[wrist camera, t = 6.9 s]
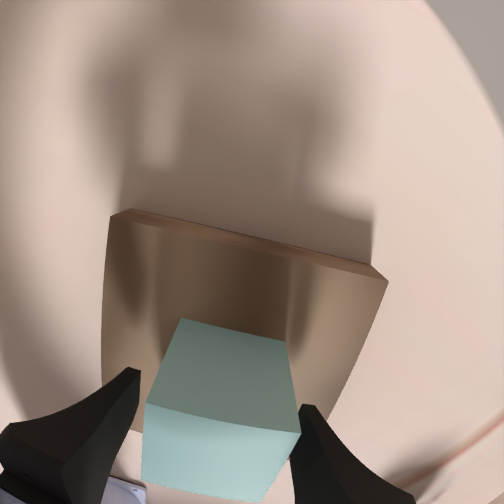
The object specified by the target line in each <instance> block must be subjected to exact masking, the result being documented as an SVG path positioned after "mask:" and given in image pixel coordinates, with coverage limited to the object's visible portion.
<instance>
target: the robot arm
mask: <svg viewBox="0 0 504 504" xmlns="http://www.w3.org/2000/svg"><path fill="white" fill-rule="evenodd" d="M140 381H141V370H138V369H135V368H131V367H126V368H125V369H124V370H123V371H122V372H120V373H119V374H118V375H117V376H116V377H114V378H113V379H112V380H111V381H109V382H108V383H107V384H105V385H104V386H103V387H101V388H100V389H99V390H97V391H96V392H94V393H93V394H91V395H90V396H88V397H87V398H85V399H83V400H82V401H80V402H78V403H76V404H74V405H72V406H70V407H68V408H66V409H64V410H61V411H59V412H56V413H54V414H51V415H48V416H45V417H41V418H37V419H33V420H29V421H22V422H16V423H10V424H9V425H8V426H7V427H6V428H5V429H4V430H3V431H2V432H1V434H0V463H1V465H2V466H3V468H4V470H3V472H2V473H1V474H0V504H146V489H145V488H144V487H141V486H138V485H135V484H131V483H128V482H125V481H122V480H119V479H116V478H113V477H110V476H109V474H110V471H111V468H112V465H113V462H114V460H115V458H116V455H117V453H118V451H119V449H120V447H121V445H122V443H123V441H124V439H125V437H126V435H127V433H128V431H129V429H130V427H131V425H132V422H133V420H134V417H135V414H136V411H137V408H138V405H139V400H140ZM298 416H299V422H300V428H301V435H300V437H299V439H298V441H297V442H296V444H295V446H294V448H293V450H292V451H291V453H290V455H289V459H290V466H291V473H292V479H293V486H294V494H295V504H416V502H415V500H414V497H413V495H411V494H409V493H407V492H405V491H403V490H401V489H399V488H397V487H395V486H393V485H391V484H390V483H388V482H386V481H385V480H383V479H382V478H380V477H379V476H377V475H376V474H375V473H374V472H372V471H371V470H370V469H368V468H367V467H366V466H365V465H364V464H362V463H361V462H360V461H359V460H358V459H357V458H356V457H355V456H354V455H353V454H352V453H351V452H350V451H349V450H348V449H347V447H346V446H345V445H344V444H343V443H342V442H341V440H340V439H339V438H338V437H337V435H336V434H335V433H334V431H333V430H332V429H331V427H330V426H329V425H328V423H327V422H326V420H325V419H324V417H323V416H322V415H321V413H320V412H319V410H318V409H317V407H316V406H315V405H311V404H302V405H301V407H300V409H299V411H298Z"/></svg>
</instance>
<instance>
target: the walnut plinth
mask: <svg viewBox="0 0 504 504" xmlns="http://www.w3.org/2000/svg"><path fill="white" fill-rule="evenodd" d="M388 282H389V281H388V280H387V279H386V278H385V277H383V276H382V275H381V274H380V273H379V272H378V271H377V270H376V269H375V268H373V267H372V266H371V265H368V264H364V263H360V262H356V261H352V260H347V259H343V258H339V257H335V256H331V255H327V254H323V253H319V252H315V251H311V250H307V249H302V248H298V247H294V246H290V245H286V244H282V243H277V242H273V241H269V240H265V239H261V238H256V237H252V236H248V235H244V234H239V233H235V232H231V231H226V230H222V229H218V228H213V227H209V226H205V225H200V224H196V223H192V222H187V221H183V220H179V219H174V218H170V217H165V216H161V215H156V214H152V213H147V212H143V211H138V210H134V209H128V210H125V211H123V212H120V213H118V214H115V215H113V216H110V223H109V231H108V239H107V248H106V259H105V270H104V283H103V300H102V328H101V369H102V387H103V386H104V385H105V384H107V383H108V382H109V381H111V380H112V379H113V378H114V377H116V376H117V375H118V374H119V373H120V372H122V371H123V370H124V369H125V368H126V367H131V368H135V369H138V370H141V381H140V400H139V405H138V408H137V411H136V414H135V417H134V420H133V422H132V425H131V427H130V429H131V430H134V431H137V432H140V433H143V426H144V412H145V402H146V399H147V397H148V394H149V392H150V389H151V387H152V385H153V382H154V380H155V377H156V375H157V373H158V370H159V368H160V366H161V363H162V361H163V358H164V356H165V354H166V351H167V349H168V347H169V344H170V342H171V340H172V338H173V335H174V333H175V331H176V328H177V326H178V324H179V321H180V319H181V318H185V319H189V320H193V321H197V322H201V323H205V324H209V325H213V326H217V327H221V328H225V329H230V330H234V331H238V332H243V333H247V334H252V335H256V336H261V337H266V338H271V339H276V340H280V341H285V342H286V348H287V353H288V359H289V365H290V370H291V376H292V382H293V387H294V393H295V399H296V405H297V410H298V411H299V409H300V407H301V405H302V404H311V405H315V406H316V407H317V409H318V410H319V412H320V413H321V415H322V416H323V417H324V419H325V420H326V421H327V419H328V417H329V415H330V413H331V411H332V410H333V408H334V406H335V404H336V402H337V400H338V398H339V396H340V394H341V392H342V390H343V388H344V386H345V384H346V382H347V380H348V378H349V376H350V374H351V371H352V369H353V367H354V365H355V363H356V361H357V358H358V356H359V354H360V352H361V349H362V347H363V345H364V343H365V340H366V338H367V336H368V333H369V331H370V329H371V326H372V324H373V321H374V319H375V316H376V314H377V311H378V309H379V306H380V304H381V301H382V298H383V296H384V293H385V290H386V288H387V285H388ZM287 460H290V459H289V457H288V458H287Z"/></svg>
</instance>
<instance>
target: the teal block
mask: <svg viewBox="0 0 504 504" xmlns="http://www.w3.org/2000/svg"><path fill="white" fill-rule="evenodd" d="M300 435H301V428H300V422H299V416H298V410H297V405H296V399H295V393H294V387H293V382H292V376H291V370H290V365H289V359H288V353H287V348H286V342H285V341H280V340H276V339H271V338H266V337H261V336H256V335H252V334H247V333H243V332H238V331H234V330H230V329H225V328H221V327H217V326H213V325H209V324H205V323H201V322H197V321H193V320H189V319H185V318H181V319H180V321H179V324H178V326H177V328H176V331H175V333H174V335H173V338H172V340H171V342H170V344H169V347H168V349H167V351H166V354H165V356H164V358H163V361H162V363H161V366H160V368H159V370H158V373H157V375H156V377H155V380H154V382H153V385H152V387H151V389H150V392H149V394H148V397H147V399H146V402H145V412H144V426H143V444H142V470H141V480H143V481H147V482H150V483H154V484H158V485H161V486H165V487H169V488H173V489H178V490H182V491H187V492H191V493H196V494H201V495H207V496H212V497H218V498H225V499H232V500H239V501H248V502H257V503H260V502H261V501H262V499H263V498H264V496H265V494H266V493H267V491H268V490H269V488H270V487H271V485H272V483H273V482H274V480H275V478H276V477H277V475H278V474H279V472H280V470H281V469H282V467H283V465H284V463H285V462H286V460H287V458H288V457H289V455H290V453H291V451H292V450H293V448H294V446H295V444H296V442H297V441H298V439H299V437H300Z"/></svg>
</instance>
